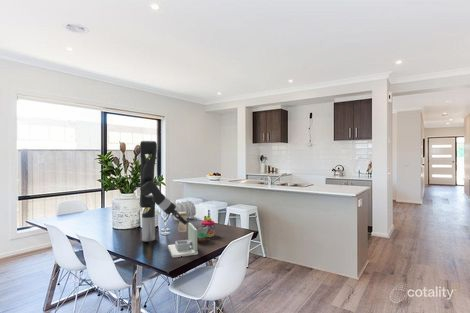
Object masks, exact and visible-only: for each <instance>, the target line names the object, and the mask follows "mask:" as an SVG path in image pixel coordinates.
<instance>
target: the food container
mask: <svg viewBox="0 0 470 313" xmlns="http://www.w3.org/2000/svg"><path fill="white" fill-rule="evenodd" d="M196 229H197V243H205V242H206V241H207V230H208V226H206V227H198V228H196Z"/></svg>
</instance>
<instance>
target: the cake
mask: <svg viewBox="0 0 470 313" xmlns="http://www.w3.org/2000/svg"><path fill="white" fill-rule="evenodd" d="M212 219H213V218H211V217H210V215H204V216H203V220H202V221H201V223H200V224H201V227H206V226H208V230H207V237H209V238H212V236H213V237H214V236H215V231H216V230H215V227H216V225H215V221H214V220H212ZM201 227H200V228H201Z"/></svg>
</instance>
